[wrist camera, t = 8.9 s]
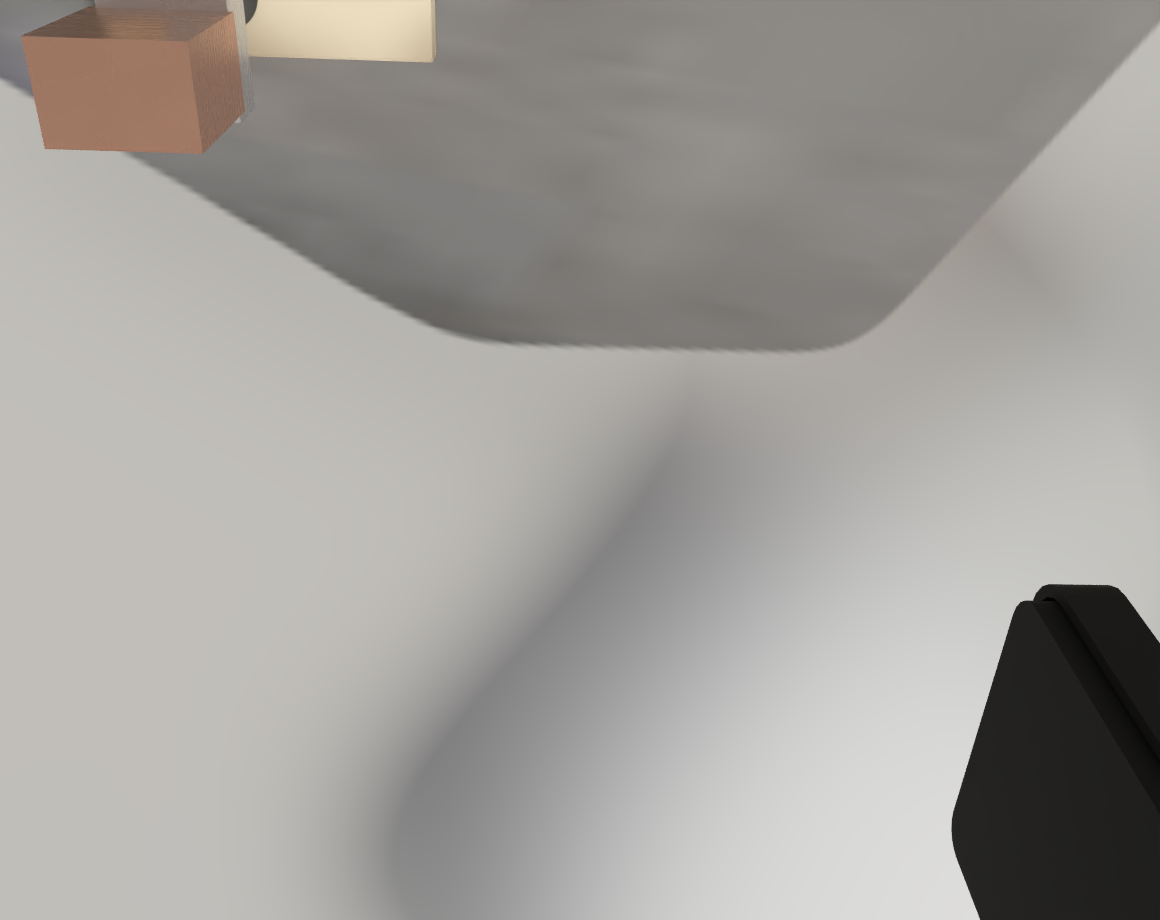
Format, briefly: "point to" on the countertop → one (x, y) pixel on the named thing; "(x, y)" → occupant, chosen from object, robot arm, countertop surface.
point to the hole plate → (342, 29)
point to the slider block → (141, 75)
